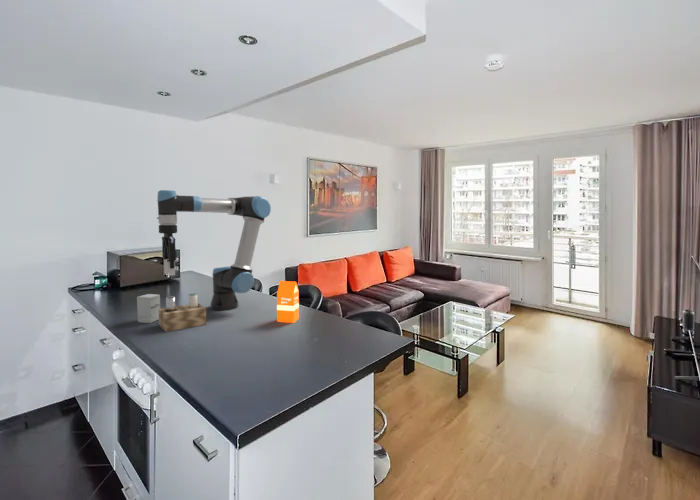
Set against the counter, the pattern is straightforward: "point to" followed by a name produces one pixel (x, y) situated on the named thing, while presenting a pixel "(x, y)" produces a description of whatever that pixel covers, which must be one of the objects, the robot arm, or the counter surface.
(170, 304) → the aluminium peg
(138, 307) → the supplement box
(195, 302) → the cream peg
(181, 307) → the oak socket block
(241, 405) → the counter surface
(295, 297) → the orange juice
